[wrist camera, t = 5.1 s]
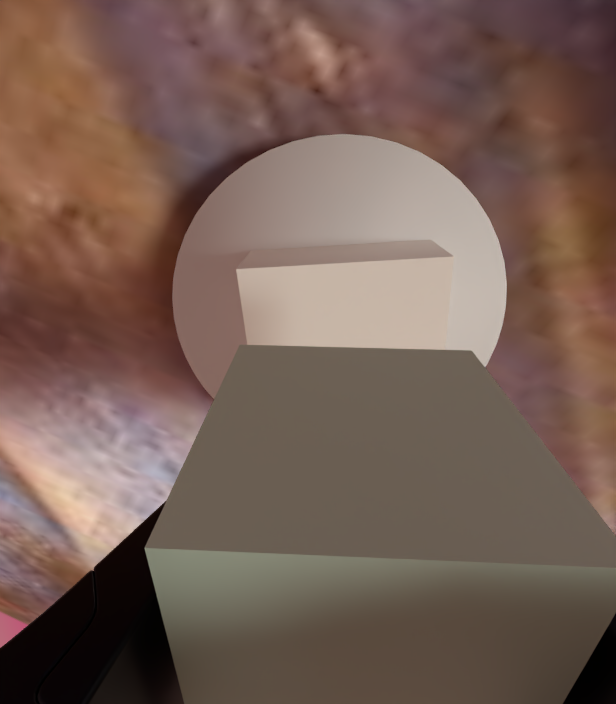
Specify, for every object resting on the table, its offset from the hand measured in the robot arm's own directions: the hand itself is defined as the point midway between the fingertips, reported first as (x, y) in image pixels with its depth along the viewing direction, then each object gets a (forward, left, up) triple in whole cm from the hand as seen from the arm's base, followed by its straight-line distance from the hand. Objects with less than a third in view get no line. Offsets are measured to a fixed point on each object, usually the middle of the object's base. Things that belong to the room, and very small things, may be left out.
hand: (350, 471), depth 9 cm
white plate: (0, 0, -10) cm, 10 cm away
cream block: (0, 0, -9) cm, 9 cm away
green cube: (0, 0, -1) cm, 1 cm away
